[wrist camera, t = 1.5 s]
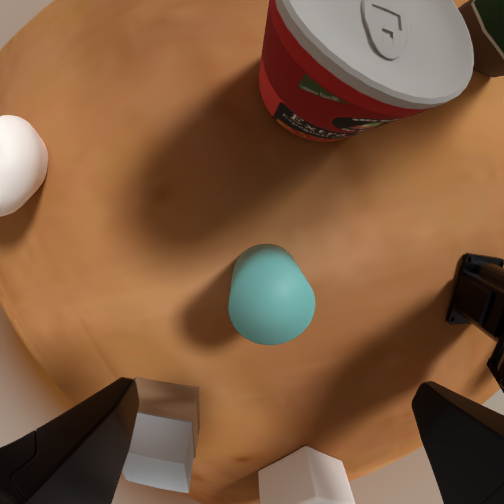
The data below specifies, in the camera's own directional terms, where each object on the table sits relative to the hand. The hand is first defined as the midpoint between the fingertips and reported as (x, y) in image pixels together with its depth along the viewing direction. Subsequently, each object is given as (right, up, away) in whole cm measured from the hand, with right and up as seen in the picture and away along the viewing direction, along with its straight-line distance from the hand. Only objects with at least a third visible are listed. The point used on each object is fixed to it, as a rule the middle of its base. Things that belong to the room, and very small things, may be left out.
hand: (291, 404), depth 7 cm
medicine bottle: (+4, -20, +18) cm, 27 cm away
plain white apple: (-18, +11, +9) cm, 24 cm away
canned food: (+3, +15, +9) cm, 18 cm away
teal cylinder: (0, +3, +12) cm, 12 cm away
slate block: (-8, -10, +11) cm, 17 cm away
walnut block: (-9, -9, +15) cm, 19 cm away
